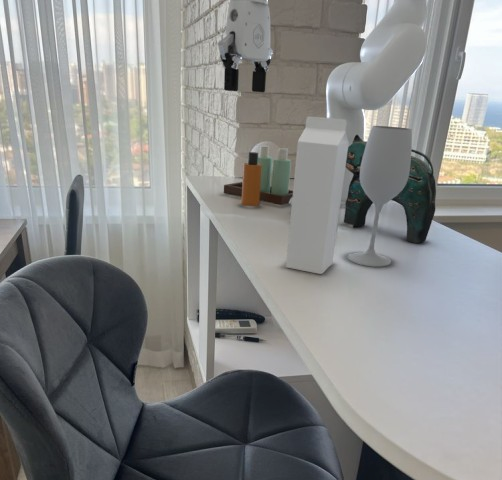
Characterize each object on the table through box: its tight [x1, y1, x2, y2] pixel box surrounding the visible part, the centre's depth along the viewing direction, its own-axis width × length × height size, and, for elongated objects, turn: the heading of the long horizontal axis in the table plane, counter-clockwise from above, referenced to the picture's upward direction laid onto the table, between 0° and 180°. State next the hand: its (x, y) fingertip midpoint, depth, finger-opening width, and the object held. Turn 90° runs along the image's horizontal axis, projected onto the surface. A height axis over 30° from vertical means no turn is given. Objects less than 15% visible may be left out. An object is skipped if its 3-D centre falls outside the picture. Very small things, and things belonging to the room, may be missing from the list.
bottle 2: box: [271, 147, 292, 195], centre depth 122 cm, size 4×4×12 cm
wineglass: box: [347, 125, 413, 268], centre depth 82 cm, size 8×8×21 cm
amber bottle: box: [240, 151, 262, 207], centre depth 116 cm, size 4×4×12 cm
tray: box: [223, 181, 293, 206], centre depth 127 cm, size 18×9×3 cm, turn 54°
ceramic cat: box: [343, 135, 437, 244], centre depth 100 cm, size 20×6×20 cm, turn 45°
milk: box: [285, 115, 349, 275], centre depth 76 cm, size 6×6×22 cm
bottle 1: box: [257, 145, 273, 193], centre depth 125 cm, size 4×4×12 cm
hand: (245, 91), depth 107 cm, fingers open, 9 cm apart
